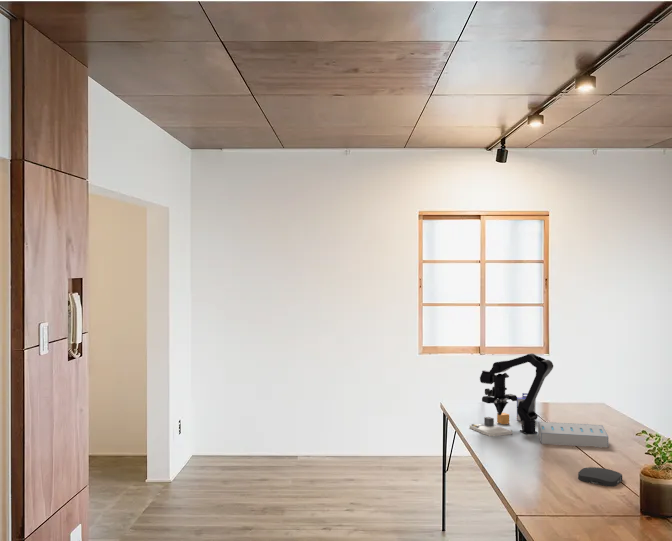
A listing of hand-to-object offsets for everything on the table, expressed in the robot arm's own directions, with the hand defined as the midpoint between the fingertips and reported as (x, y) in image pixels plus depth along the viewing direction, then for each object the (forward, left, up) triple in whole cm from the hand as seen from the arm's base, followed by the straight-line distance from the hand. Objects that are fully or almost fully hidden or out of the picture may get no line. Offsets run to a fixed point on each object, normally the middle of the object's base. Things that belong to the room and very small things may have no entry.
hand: (499, 414), depth 335 cm
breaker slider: (0, +7, -5) cm, 8 cm away
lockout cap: (+6, -7, -6) cm, 11 cm away
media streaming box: (-84, +14, -7) cm, 85 cm away
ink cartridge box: (+7, -23, -7) cm, 25 cm away
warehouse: (-37, -15, -7) cm, 40 cm away
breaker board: (-6, +10, -6) cm, 13 cm away
